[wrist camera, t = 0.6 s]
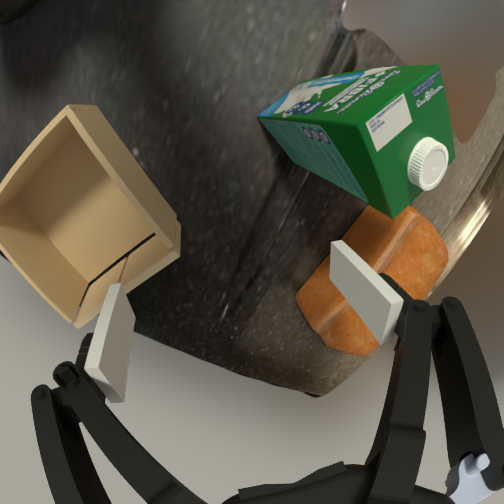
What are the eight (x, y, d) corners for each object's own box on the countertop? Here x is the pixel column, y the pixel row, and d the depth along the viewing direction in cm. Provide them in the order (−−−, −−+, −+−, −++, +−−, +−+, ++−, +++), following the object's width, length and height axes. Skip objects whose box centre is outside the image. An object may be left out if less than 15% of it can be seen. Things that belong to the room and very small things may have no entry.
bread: (413, 223, 50) (467, 261, 36) (333, 320, 57) (367, 374, 43) (378, 182, 44) (443, 216, 30) (286, 296, 51) (319, 360, 37)
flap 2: (129, 254, 40) (117, 291, 32) (177, 219, 39) (174, 250, 31) (134, 260, 41) (123, 297, 32) (182, 226, 40) (181, 258, 32)
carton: (12, 195, 31) (-22, 219, 22) (96, 105, 29) (68, 104, 21) (86, 284, 41) (69, 323, 32) (176, 215, 39) (174, 245, 31)
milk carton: (294, 164, 39) (411, 233, 18) (256, 116, 35) (358, 125, 13) (338, 128, 38) (475, 165, 16) (304, 80, 34) (440, 63, 12)
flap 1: (88, 286, 41) (73, 324, 32) (126, 256, 40) (114, 293, 32) (93, 291, 41) (79, 330, 33) (131, 262, 41) (120, 300, 32)
